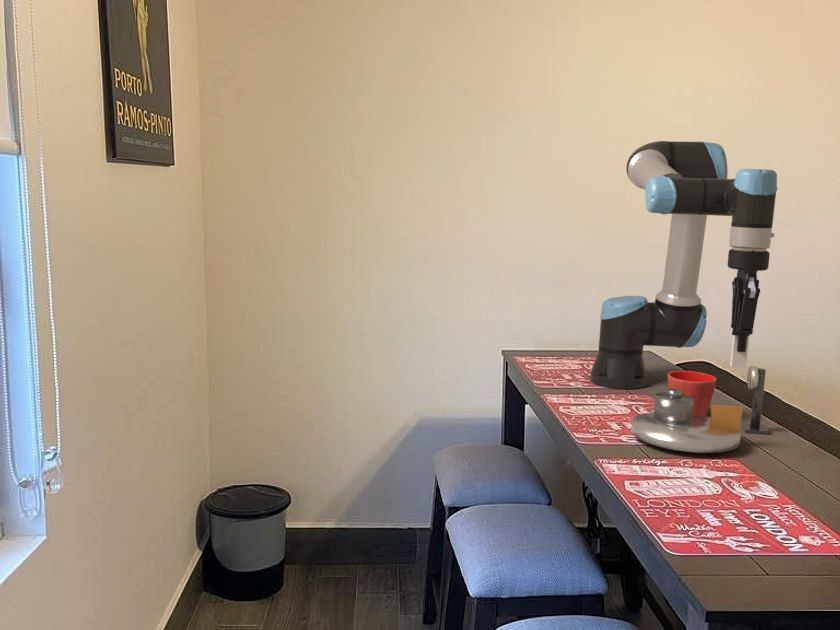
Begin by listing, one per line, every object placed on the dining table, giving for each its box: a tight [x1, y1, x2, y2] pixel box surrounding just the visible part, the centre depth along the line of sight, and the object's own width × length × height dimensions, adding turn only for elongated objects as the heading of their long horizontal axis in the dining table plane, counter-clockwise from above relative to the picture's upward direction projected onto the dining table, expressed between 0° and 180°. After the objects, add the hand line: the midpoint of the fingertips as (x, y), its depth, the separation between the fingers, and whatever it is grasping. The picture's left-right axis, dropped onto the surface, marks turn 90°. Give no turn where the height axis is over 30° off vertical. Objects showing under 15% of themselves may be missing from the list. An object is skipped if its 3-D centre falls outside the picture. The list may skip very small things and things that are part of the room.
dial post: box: [741, 365, 770, 436], centre depth 185 cm, size 5×5×14 cm
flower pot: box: [667, 370, 717, 416], centre depth 195 cm, size 11×11×10 cm
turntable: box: [630, 404, 744, 454], centre depth 176 cm, size 22×22×7 cm
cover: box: [653, 388, 694, 425], centre depth 181 cm, size 8×8×6 cm
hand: (737, 366), depth 167 cm, fingers closed
